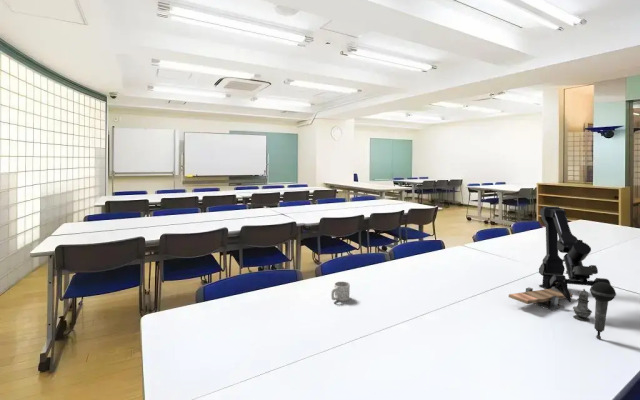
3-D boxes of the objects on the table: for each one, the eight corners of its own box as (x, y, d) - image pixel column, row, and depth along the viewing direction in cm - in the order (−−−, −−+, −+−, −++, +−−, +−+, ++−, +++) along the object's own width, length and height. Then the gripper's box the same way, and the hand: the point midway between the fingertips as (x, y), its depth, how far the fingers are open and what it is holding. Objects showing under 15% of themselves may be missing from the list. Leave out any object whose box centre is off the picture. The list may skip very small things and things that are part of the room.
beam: (553, 290, 156) (553, 285, 156) (572, 296, 149) (572, 291, 149) (508, 297, 142) (509, 291, 142) (527, 304, 135) (528, 298, 135)
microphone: (584, 331, 121) (589, 277, 119) (610, 337, 117) (615, 281, 115) (586, 340, 115) (591, 283, 113) (612, 346, 111) (618, 287, 109)
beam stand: (530, 295, 154) (531, 285, 153) (563, 307, 141) (564, 296, 141) (519, 298, 150) (519, 288, 150) (552, 310, 138) (553, 300, 137)
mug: (341, 294, 156) (341, 280, 155) (352, 298, 151) (352, 284, 150) (326, 300, 149) (326, 286, 148) (337, 305, 144) (337, 290, 143)
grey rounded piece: (568, 315, 134) (570, 286, 132) (582, 314, 134) (584, 285, 133) (580, 322, 128) (583, 291, 127) (595, 321, 128) (598, 291, 127)
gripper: (554, 254, 135) (563, 291, 126) (610, 258, 130) (624, 297, 120) (546, 268, 143) (553, 303, 134) (598, 272, 138) (610, 309, 129)
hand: (584, 303), depth 129 cm, fingers open, 9 cm apart
